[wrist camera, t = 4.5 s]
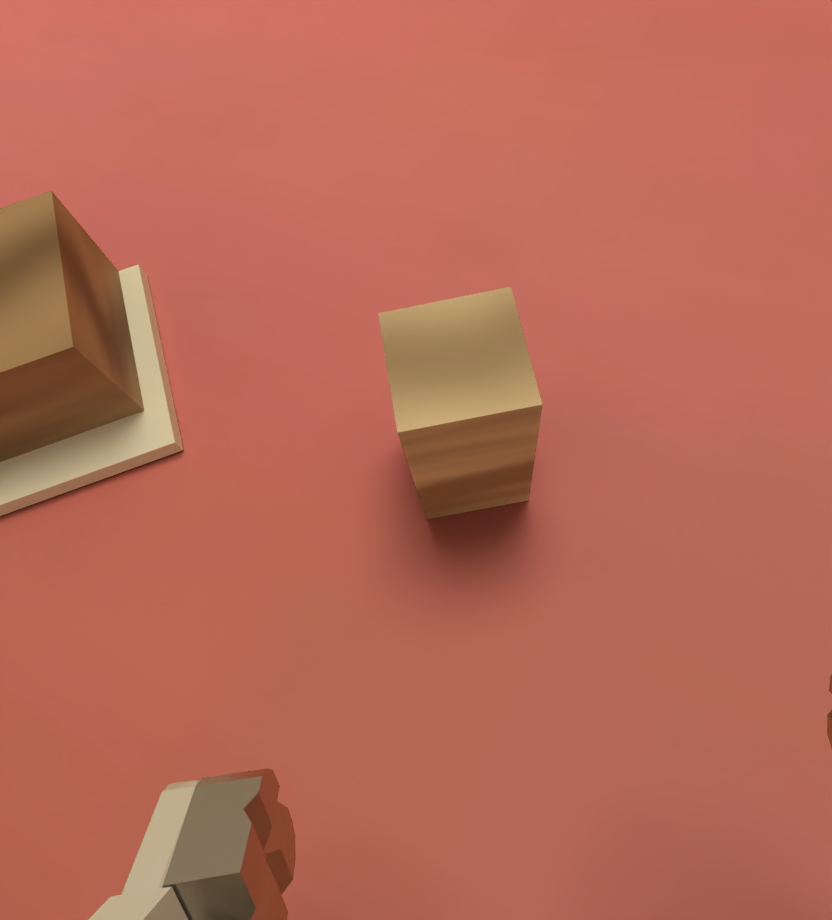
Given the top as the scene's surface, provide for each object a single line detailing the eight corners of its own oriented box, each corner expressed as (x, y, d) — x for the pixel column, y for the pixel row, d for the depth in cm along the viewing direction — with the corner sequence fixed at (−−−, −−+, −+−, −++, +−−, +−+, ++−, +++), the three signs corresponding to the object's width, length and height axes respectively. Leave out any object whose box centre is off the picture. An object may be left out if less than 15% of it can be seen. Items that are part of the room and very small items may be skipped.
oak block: (528, 500, 25) (542, 404, 17) (426, 519, 25) (397, 432, 17) (506, 409, 26) (510, 286, 19) (410, 428, 26) (378, 313, 19)
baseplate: (183, 450, 27) (174, 442, 26) (-19, 522, 27) (-34, 517, 26) (146, 275, 31) (138, 264, 30) (-30, 337, 31) (-43, 328, 30)
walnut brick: (144, 410, 27) (73, 346, 23) (-36, 474, 27) (-144, 423, 22) (118, 271, 30) (51, 190, 26) (-43, 328, 30) (-139, 257, 26)
